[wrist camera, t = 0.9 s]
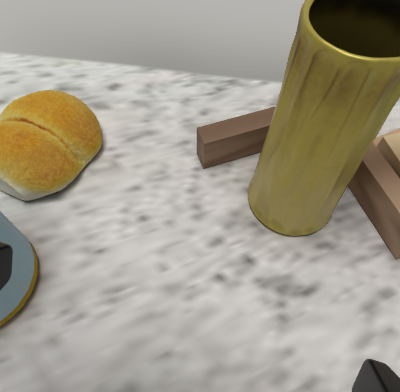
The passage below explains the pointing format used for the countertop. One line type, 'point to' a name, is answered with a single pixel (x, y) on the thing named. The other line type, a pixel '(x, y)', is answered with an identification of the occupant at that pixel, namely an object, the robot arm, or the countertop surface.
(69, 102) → the bread roll
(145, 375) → the countertop surface
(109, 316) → the countertop surface
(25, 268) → the bottle
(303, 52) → the vase
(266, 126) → the offcut rack
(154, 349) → the countertop surface
